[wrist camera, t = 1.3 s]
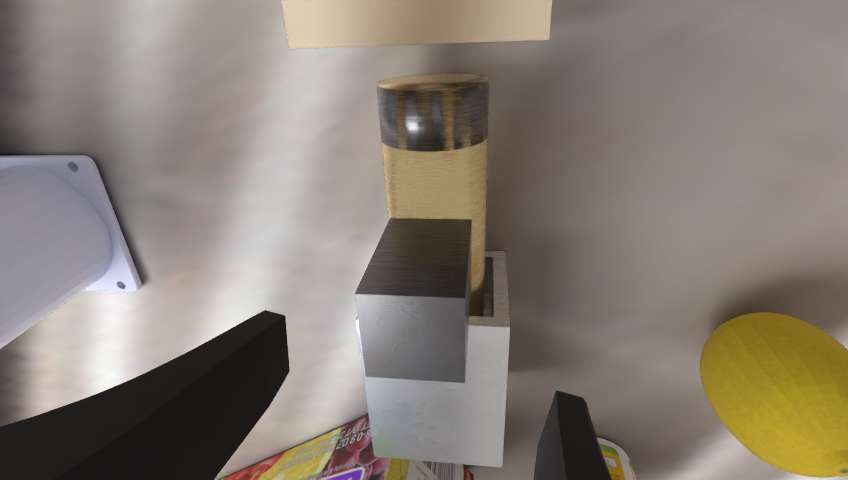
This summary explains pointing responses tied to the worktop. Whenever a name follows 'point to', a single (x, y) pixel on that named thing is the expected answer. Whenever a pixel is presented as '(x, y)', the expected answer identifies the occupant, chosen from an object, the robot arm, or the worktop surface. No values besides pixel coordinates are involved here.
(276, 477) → the snack box
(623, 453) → the supplement bottle
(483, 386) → the sleeve
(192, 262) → the worktop surface
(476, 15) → the socket block
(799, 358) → the lemon
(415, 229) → the tube
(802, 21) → the worktop surface
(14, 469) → the robot arm
